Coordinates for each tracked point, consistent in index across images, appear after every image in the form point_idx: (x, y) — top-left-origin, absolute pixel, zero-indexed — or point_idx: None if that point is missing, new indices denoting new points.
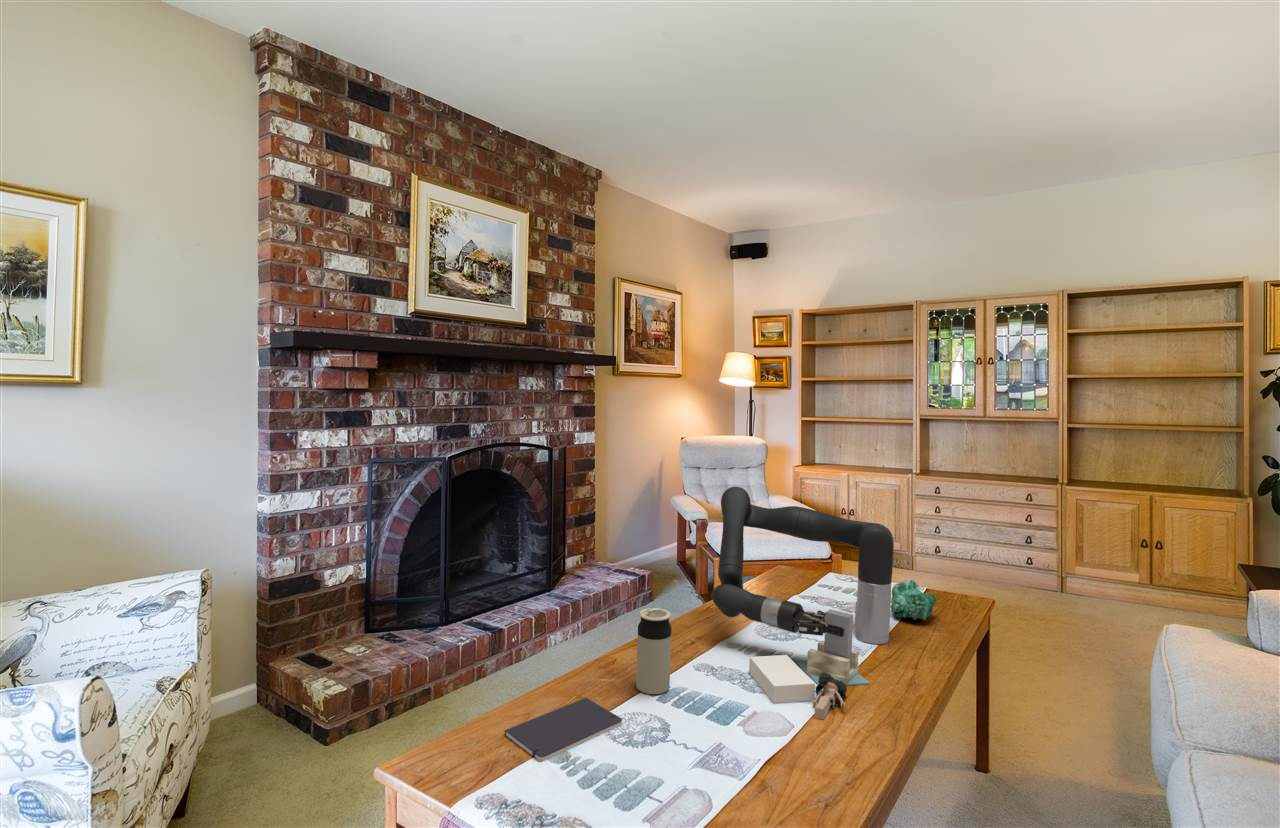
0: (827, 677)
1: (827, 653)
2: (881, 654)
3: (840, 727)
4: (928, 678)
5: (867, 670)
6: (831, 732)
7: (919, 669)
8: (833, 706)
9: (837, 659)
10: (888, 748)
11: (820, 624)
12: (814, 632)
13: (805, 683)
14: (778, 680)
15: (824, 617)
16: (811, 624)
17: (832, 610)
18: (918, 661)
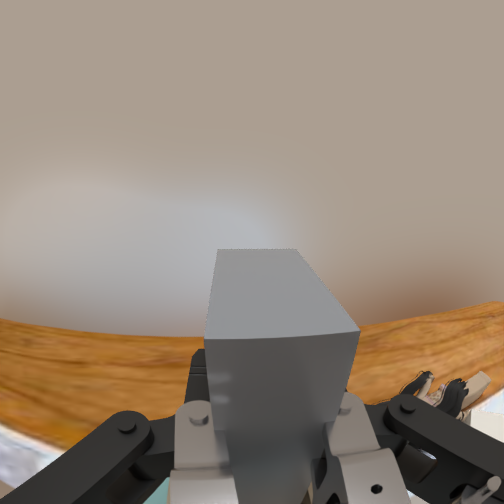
0: None
1: (311, 486)
2: (23, 412)
3: (455, 367)
4: (123, 347)
5: None
6: (474, 364)
7: (85, 358)
8: (446, 386)
9: None
10: (421, 325)
11: (413, 407)
12: (421, 467)
13: (492, 415)
14: None
15: (213, 468)
16: (470, 442)
17: (231, 316)
18: (47, 359)
